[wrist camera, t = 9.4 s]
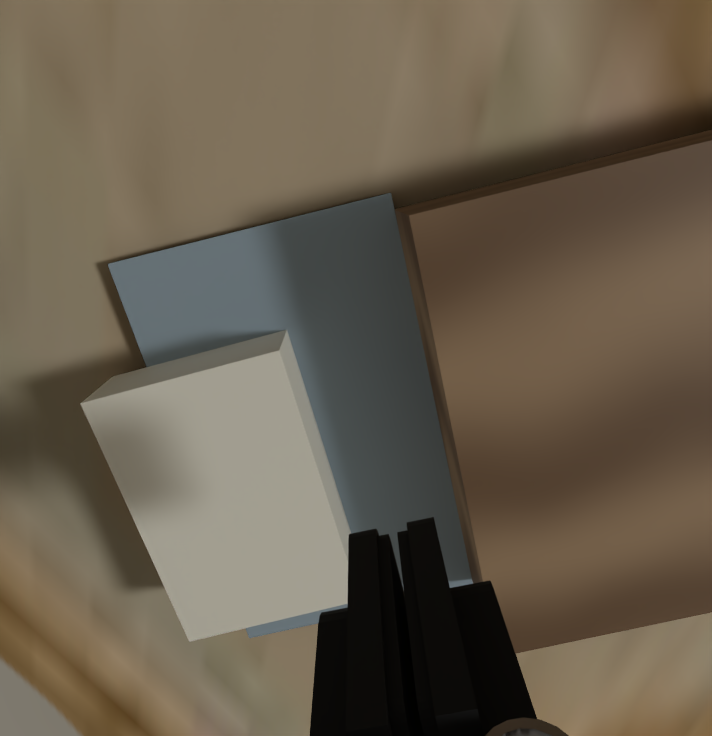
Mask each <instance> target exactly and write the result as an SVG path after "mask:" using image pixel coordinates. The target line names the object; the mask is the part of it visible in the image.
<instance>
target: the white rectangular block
mask: <svg viewBox="0 0 712 736" xmlns="http://www.w3.org/2000/svg"><path fill="white" fill-rule="evenodd" d="M80 404H81V406H82V408H83V411H84V413H85V415H86V417H87V419H88V422H89V424H90V426H91V428H92V430H93V432H94V435H95V437H96V439H97V441H98V443H99V446H100V448H101V450H102V452H103V454H104V456H105V459H106V461H107V463H108V465H109V467H110V470H111V472H112V474H113V476H114V478H115V480H116V483H117V485H118V487H119V489H120V491H121V494H122V496H123V498H124V500H125V502H126V504H127V507H128V509H129V511H130V513H131V515H132V518H133V520H134V522H135V524H136V526H137V528H138V531H139V533H140V535H141V537H142V539H143V542H144V544H145V546H146V548H147V550H148V552H149V555H150V557H151V559H152V561H153V563H154V566H155V568H156V570H157V572H158V574H159V576H160V579H161V581H162V583H163V585H164V587H165V590H166V592H167V594H168V596H169V598H170V600H171V603H172V605H173V607H174V609H175V611H176V614H177V616H178V618H179V620H180V622H181V624H182V627H183V629H184V631H185V633H186V635H187V638H188V640H189V642H190V641H194V640H198V639H202V638H207V637H211V636H215V635H219V634H223V633H228V632H232V631H236V630H240V629H244V628H248V627H253V626H257V625H261V624H265V623H269V622H273V621H278V620H282V619H286V618H290V617H294V616H298V615H303V614H307V613H311V612H315V611H319V610H324V609H328V608H332V607H336V606H340V605H344V604H348V538H349V534H351V531H350V528H349V524H348V521H347V518H346V515H345V512H344V509H343V506H342V502H341V499H340V496H339V493H338V490H337V487H336V483H335V480H334V477H333V474H332V471H331V468H330V464H329V461H328V458H327V455H326V452H325V449H324V445H323V442H322V439H321V436H320V433H319V430H318V426H317V423H316V420H315V417H314V414H313V411H312V407H311V404H310V401H309V398H308V395H307V392H306V388H305V385H304V382H303V379H302V376H301V373H300V369H299V366H298V363H297V360H296V357H295V354H294V351H293V347H292V344H291V341H290V338H289V335H288V332H287V330H284V331H280V332H276V333H272V334H269V335H265V336H261V337H258V338H254V339H250V340H246V341H243V342H239V343H235V344H231V345H228V346H224V347H220V348H217V349H213V350H209V351H205V352H202V353H198V354H194V355H191V356H187V357H183V358H179V359H176V360H172V361H168V362H164V363H161V364H157V365H153V366H150V367H146V368H142V369H138V370H135V371H131V372H127V373H124V374H120V375H116V376H112V377H111V378H110V379H109V380H108V381H106V382H105V383H104V384H103V385H102V386H101V387H99V388H98V389H97V390H96V391H95V392H93V393H92V394H91V395H90V396H89V397H87V398H86V399H85V400H84V401H83V402H81V403H80Z"/></svg>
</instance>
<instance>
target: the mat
mask: <svg viewBox="0 0 712 736" xmlns="http://www.w3.org/2000/svg"><path fill="white" fill-rule="evenodd" d="M108 267H109V269H110V272H111V275H112V277H113V280H114V283H115V285H116V288H117V290H118V293H119V296H120V298H121V301H122V304H123V306H124V309H125V312H126V314H127V317H128V319H129V322H130V325H131V327H132V330H133V333H134V335H135V338H136V341H137V343H138V346H139V348H140V351H141V354H142V356H143V359H144V362H145V364H146V367H150V366H153V365H157V364H161V363H164V362H168V361H172V360H176V359H179V358H183V357H187V356H191V355H194V354H198V353H202V352H205V351H209V350H213V349H217V348H220V347H224V346H228V345H231V344H235V343H239V342H243V341H246V340H250V339H254V338H258V337H261V336H265V335H269V334H272V333H276V332H280V331H284V330H287V332H288V335H289V338H290V341H291V344H292V347H293V351H294V354H295V357H296V360H297V363H298V366H299V369H300V373H301V376H302V379H303V382H304V385H305V388H306V392H307V395H308V398H309V401H310V404H311V407H312V411H313V414H314V417H315V420H316V423H317V426H318V430H319V433H320V436H321V439H322V442H323V445H324V449H325V452H326V455H327V458H328V461H329V464H330V468H331V471H332V474H333V477H334V480H335V483H336V487H337V490H338V493H339V496H340V499H341V502H342V506H343V509H344V512H345V515H346V518H347V521H348V524H349V528H350V531H351V533H356V532H361V531H366V530H371V529H377V530H378V533H379V536H380V535H385V534H389V536H390V539H391V543H392V547H393V551H394V555H395V559H396V563H397V566H398V570H399V574H400V578H401V582H402V586H403V579H402V570H401V562H400V554H399V545H398V537H397V532H401V531H406V530H407V524H406V523H407V522H411V521H416V520H421V519H426V518H431V517H434V521H435V525H436V529H437V534H438V538H439V542H440V547H441V551H442V556H443V560H444V564H445V569H446V573H447V577H448V582H449V586H450V588H453V587H458V586H463V585H468V584H473V582H472V577H471V572H470V567H469V563H468V558H467V553H466V548H465V544H464V539H463V534H462V529H461V525H460V520H459V515H458V510H457V505H456V501H455V496H454V491H453V486H452V482H451V477H450V472H449V467H448V463H447V458H446V453H445V448H444V443H443V439H442V434H441V429H440V424H439V420H438V415H437V410H436V405H435V401H434V396H433V391H432V386H431V381H430V377H429V372H428V367H427V362H426V358H425V353H424V348H423V343H422V339H421V334H420V329H419V324H418V319H417V315H416V310H415V305H414V300H413V296H412V291H411V286H410V281H409V277H408V272H407V267H406V262H405V257H404V253H403V248H402V243H401V238H400V234H399V229H398V224H397V219H396V214H395V210H394V205H393V200H392V195H391V193H387V194H383V195H379V196H375V197H371V198H368V199H364V200H360V201H356V202H352V203H348V204H344V205H340V206H336V207H332V208H328V209H324V210H320V211H316V212H312V213H308V214H304V215H300V216H296V217H292V218H288V219H284V220H280V221H276V222H272V223H268V224H264V225H260V226H256V227H252V228H248V229H244V230H240V231H236V232H232V233H228V234H224V235H220V236H216V237H212V238H208V239H204V240H200V241H196V242H192V243H188V244H184V245H181V246H177V247H173V248H169V249H165V250H161V251H157V252H153V253H149V254H145V255H141V256H137V257H133V258H129V259H125V260H121V261H117V262H113V263H109V264H108ZM403 590H404V587H403ZM347 606H348V604H344V605H340V606H336V607H332V608H328V609H324V610H319V611H315V612H311V613H307V614H303V615H298V616H294V617H290V618H286V619H282V620H278V621H273V622H269V623H265V624H261V625H257V626H253V627H248V628H246V631H247V633H248V636H249V638H252V637H257V636H261V635H266V634H271V633H275V632H280V631H285V630H289V629H294V628H298V627H303V626H308V625H312V624H317V623H319V616H320V614H321V612H326V611H332V610H337V609H342V608H347Z"/></svg>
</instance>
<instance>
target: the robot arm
mask: <svg viewBox="0 0 712 736" xmlns="http://www.w3.org/2000/svg"><path fill="white" fill-rule="evenodd" d="M406 524H407V530H406V531H401V532H397V537H398V545H399V554H400V562H401V570H402V579H403V586H402V582H401V578H400V574H399V570H398V566H397V563H396V559H395V555H394V551H393V547H392V543H391V539H390V536H389V534H385V535H380V536H379V533H378V530H377V529H371V530H366V531H361V532H356V533H351V534H349V538H348V606H347V608H342V609H337V610H332V611H326V612H321V614H320V616H319V623H318V636H317V648H316V661H315V674H314V687H313V700H312V713H311V726H310V736H568V735H567V734H566V733H564V732H563V731H562V730H561V729H559V728H558V727H557V726H554V725H552V724H550V723H547V722H545V721H542V720H539V719H537V717H536V714H535V711H534V708H533V705H532V702H531V699H530V696H529V693H528V690H527V687H526V684H525V681H524V678H523V675H522V672H521V669H520V666H519V663H518V660H517V657H516V654H515V651H514V648H513V645H512V642H511V639H510V636H509V633H508V630H507V627H506V624H505V621H504V618H503V615H502V612H501V609H500V606H499V603H498V600H497V597H496V594H495V591H494V588H493V585H492V583H491V581H490V580H489V581H484V582H479V583H474V584H468V585H463V586H458V587H453V588H450V586H449V582H448V577H447V573H446V569H445V564H444V560H443V556H442V551H441V547H440V542H439V538H438V534H437V529H436V525H435V521H434V517H431V518H426V519H421V520H416V521H411V522H407V523H406ZM403 587H404V590H403Z"/></svg>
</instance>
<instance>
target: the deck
mask: <svg viewBox="0 0 712 736" xmlns="http://www.w3.org/2000/svg"><path fill="white" fill-rule="evenodd" d="M394 210H395V214H396V219H397V224H398V229H399V234H400V238H401V243H402V248H403V253H404V257H405V262H406V267H407V272H408V277H409V281H410V286H411V291H412V296H413V300H414V305H415V310H416V315H417V319H418V324H419V329H420V334H421V339H422V343H423V348H424V353H425V358H426V362H427V367H428V372H429V377H430V381H431V386H432V391H433V396H434V401H435V405H436V410H437V415H438V420H439V424H440V429H441V434H442V439H443V443H444V448H445V453H446V458H447V463H448V467H449V472H450V477H451V482H452V486H453V491H454V496H455V501H456V505H457V510H458V515H459V520H460V525H461V529H462V534H463V539H464V544H465V548H466V553H467V558H468V563H469V567H470V572H471V577H472V581H473V584H474V583H479V582H484V581H489V580H490V581H491V583H492V585H493V588H494V591H495V594H496V597H497V600H498V603H499V606H500V609H501V612H502V615H503V618H504V621H505V624H506V627H507V630H508V633H509V636H510V639H511V642H512V645H513V648H514V651H515V653H520V652H525V651H529V650H534V649H539V648H544V647H548V646H553V645H558V644H563V643H567V642H572V641H577V640H582V639H586V638H591V637H596V636H601V635H606V634H610V633H615V632H620V631H625V630H629V629H634V628H639V627H644V626H648V625H653V624H658V623H663V622H667V621H672V620H677V619H682V618H686V617H691V616H696V615H701V614H705V613H710V612H712V130H709V131H705V132H701V133H697V134H693V135H689V136H685V137H681V138H677V139H673V140H669V141H665V142H661V143H657V144H653V145H649V146H645V147H641V148H637V149H633V150H629V151H625V152H621V153H617V154H613V155H609V156H605V157H601V158H597V159H593V160H589V161H585V162H581V163H577V164H573V165H569V166H565V167H561V168H557V169H553V170H549V171H545V172H541V173H537V174H533V175H529V176H525V177H521V178H517V179H513V180H509V181H505V182H501V183H497V184H493V185H489V186H485V187H481V188H477V189H473V190H469V191H465V192H461V193H457V194H453V195H449V196H445V197H441V198H437V199H433V200H429V201H425V202H421V203H417V204H413V205H409V206H405V207H401V208H397V209H394Z"/></svg>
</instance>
